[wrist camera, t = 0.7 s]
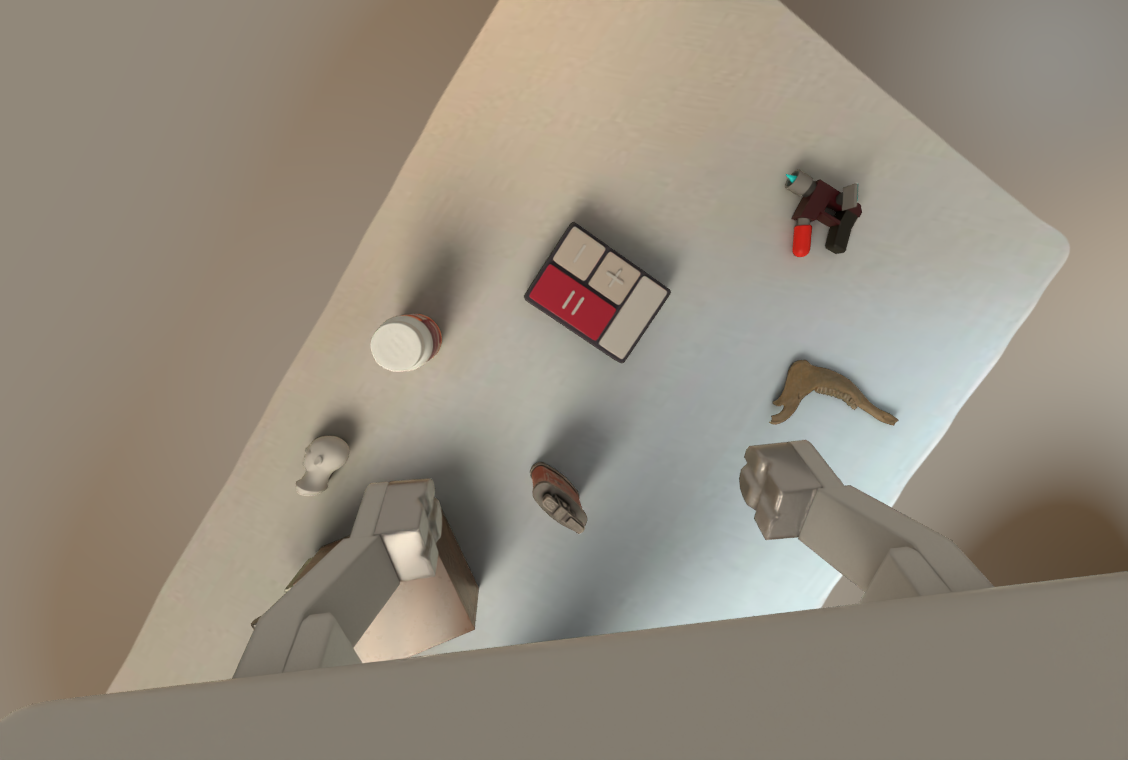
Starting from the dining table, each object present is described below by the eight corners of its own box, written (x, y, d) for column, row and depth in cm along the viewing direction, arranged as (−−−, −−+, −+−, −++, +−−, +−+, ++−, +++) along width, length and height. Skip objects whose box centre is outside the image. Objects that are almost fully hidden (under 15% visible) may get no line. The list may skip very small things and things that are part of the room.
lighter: (524, 474, 64) (527, 506, 54) (541, 456, 63) (547, 484, 54) (567, 510, 65) (577, 547, 55) (584, 492, 65) (597, 526, 55)
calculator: (572, 218, 55) (674, 290, 57) (569, 225, 60) (664, 292, 62) (522, 297, 56) (624, 365, 58) (522, 298, 60) (617, 362, 62)
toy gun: (786, 164, 61) (809, 152, 56) (858, 209, 63) (887, 201, 58) (750, 233, 62) (770, 227, 57) (822, 275, 64) (848, 272, 59)
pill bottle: (431, 306, 59) (413, 308, 48) (449, 353, 60) (436, 364, 49) (384, 322, 58) (355, 328, 47) (403, 368, 60) (379, 384, 48)
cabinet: (368, 634, 65) (347, 683, 57) (321, 546, 62) (292, 584, 54) (479, 588, 66) (474, 629, 57) (437, 499, 63) (426, 529, 55)
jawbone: (767, 358, 65) (776, 359, 63) (898, 362, 68) (910, 363, 66) (763, 422, 66) (771, 425, 64) (893, 424, 69) (905, 426, 67)
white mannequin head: (333, 424, 61) (362, 448, 60) (298, 473, 61) (327, 497, 60) (311, 426, 56) (343, 452, 56) (274, 478, 57) (304, 505, 56)
